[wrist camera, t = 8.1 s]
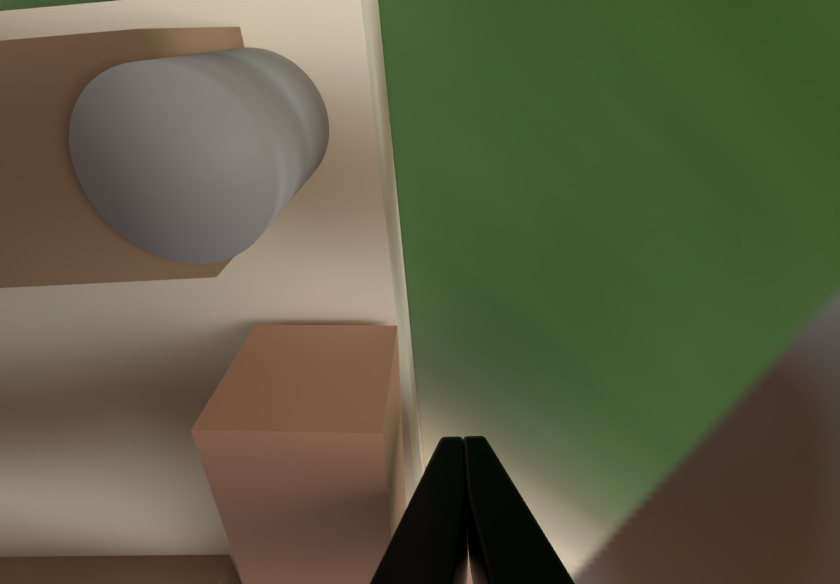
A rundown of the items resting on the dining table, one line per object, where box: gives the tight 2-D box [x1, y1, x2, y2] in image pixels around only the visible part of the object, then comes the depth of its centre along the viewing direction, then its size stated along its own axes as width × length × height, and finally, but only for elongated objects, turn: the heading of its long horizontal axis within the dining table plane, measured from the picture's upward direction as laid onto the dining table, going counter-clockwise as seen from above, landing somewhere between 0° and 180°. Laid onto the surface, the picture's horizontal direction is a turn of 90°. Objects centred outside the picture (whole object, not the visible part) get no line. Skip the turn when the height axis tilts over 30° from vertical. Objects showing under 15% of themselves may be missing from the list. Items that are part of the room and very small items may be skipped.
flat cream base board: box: [0, 0, 424, 584], centre depth 12 cm, size 18×18×6 cm
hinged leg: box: [191, 325, 406, 584], centre depth 12 cm, size 12×4×3 cm, turn 1°
